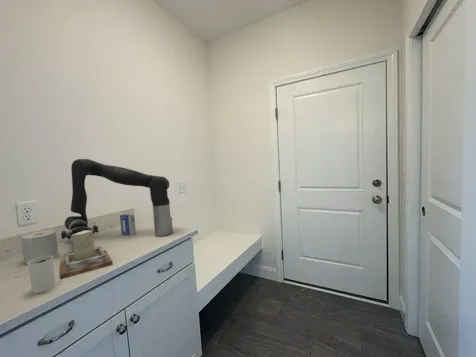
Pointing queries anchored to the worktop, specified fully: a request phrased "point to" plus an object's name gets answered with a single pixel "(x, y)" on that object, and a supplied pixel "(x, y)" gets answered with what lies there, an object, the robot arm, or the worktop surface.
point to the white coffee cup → (41, 274)
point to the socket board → (84, 263)
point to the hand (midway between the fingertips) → (81, 234)
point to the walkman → (127, 225)
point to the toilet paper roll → (39, 245)
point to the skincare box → (83, 245)
